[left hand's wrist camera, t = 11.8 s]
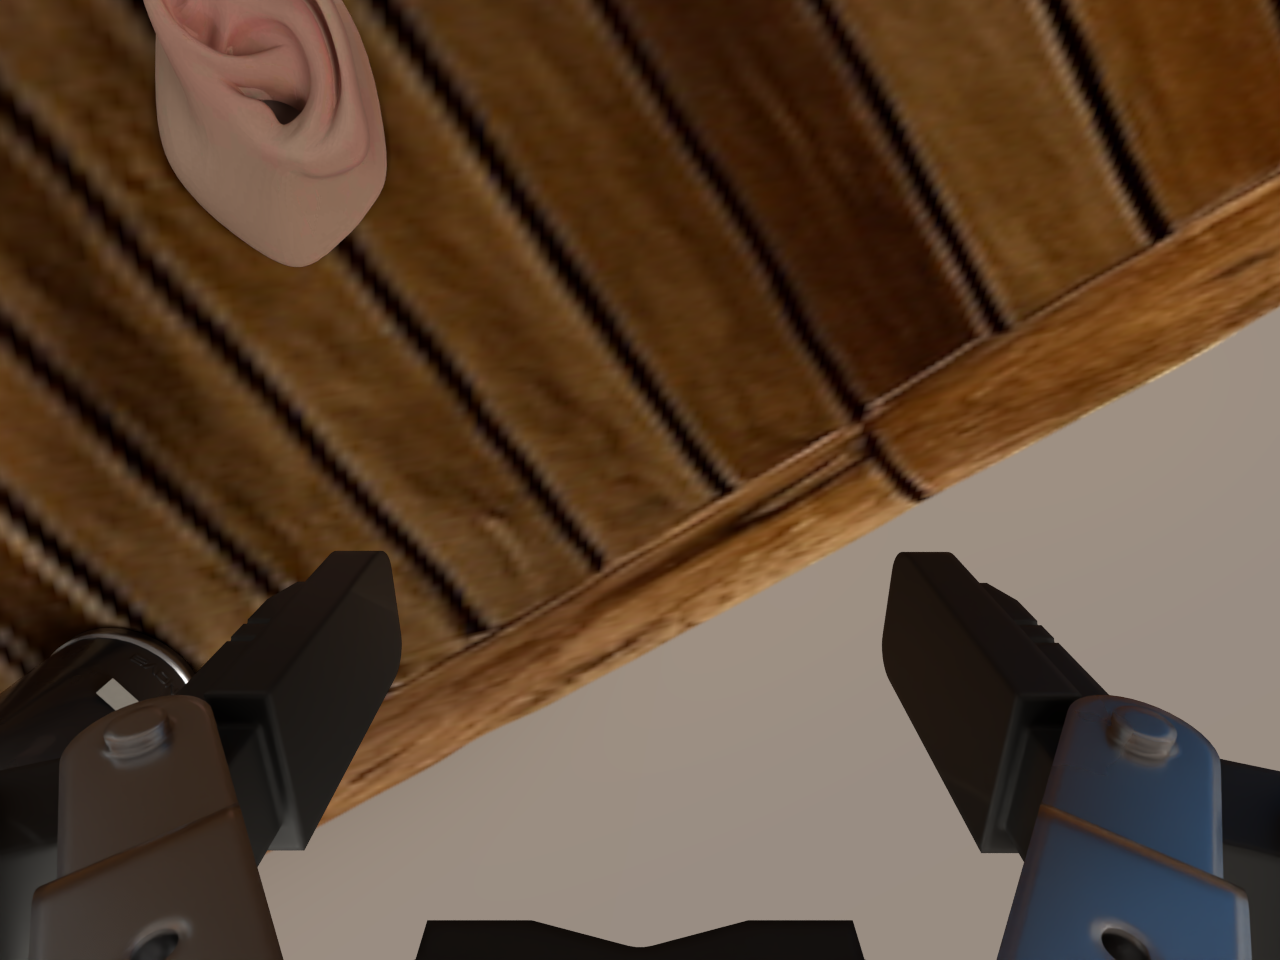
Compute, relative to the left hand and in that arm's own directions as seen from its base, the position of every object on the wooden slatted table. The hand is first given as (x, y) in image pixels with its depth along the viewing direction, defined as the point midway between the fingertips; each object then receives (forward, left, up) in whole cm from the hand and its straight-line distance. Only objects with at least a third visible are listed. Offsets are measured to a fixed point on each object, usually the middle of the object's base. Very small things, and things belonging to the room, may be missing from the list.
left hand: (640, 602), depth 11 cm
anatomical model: (-10, +18, -28) cm, 34 cm away
